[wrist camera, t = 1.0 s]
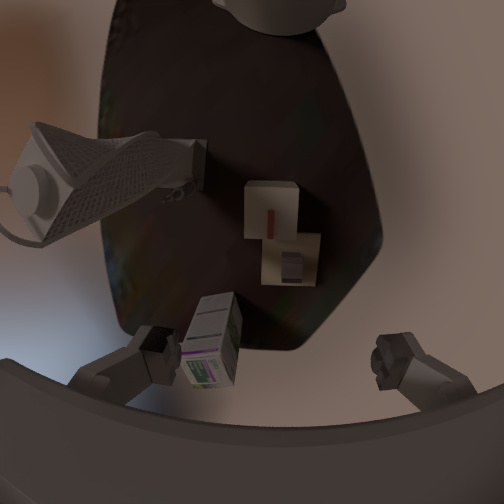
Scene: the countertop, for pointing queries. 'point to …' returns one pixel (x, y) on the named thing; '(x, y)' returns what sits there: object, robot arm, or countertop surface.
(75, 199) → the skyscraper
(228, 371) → the syrup box
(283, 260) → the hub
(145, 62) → the countertop surface
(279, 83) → the countertop surface
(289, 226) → the knob
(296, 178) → the countertop surface
